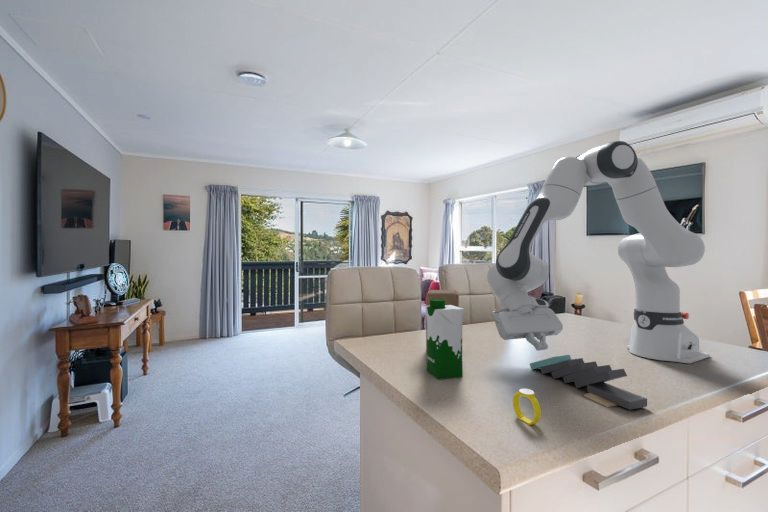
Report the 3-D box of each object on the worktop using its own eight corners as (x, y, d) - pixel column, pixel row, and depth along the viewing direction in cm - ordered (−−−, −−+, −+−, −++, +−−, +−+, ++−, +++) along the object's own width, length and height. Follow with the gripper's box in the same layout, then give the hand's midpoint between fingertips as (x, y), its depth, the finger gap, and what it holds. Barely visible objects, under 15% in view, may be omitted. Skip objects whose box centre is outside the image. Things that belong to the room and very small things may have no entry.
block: (458, 358, 110) (458, 293, 110) (425, 356, 112) (425, 292, 112) (458, 349, 119) (458, 290, 119) (428, 348, 121) (428, 289, 121)
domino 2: (540, 367, 96) (567, 360, 88) (554, 365, 98) (582, 358, 90) (542, 374, 96) (569, 366, 87) (556, 371, 97) (585, 364, 89)
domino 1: (529, 363, 100) (554, 356, 91) (543, 361, 102) (569, 354, 93) (531, 369, 99) (557, 363, 91) (545, 367, 101) (572, 361, 93)
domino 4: (562, 376, 89) (593, 367, 81) (577, 374, 91) (609, 364, 83) (565, 383, 88) (596, 374, 80) (580, 381, 90) (612, 371, 82)
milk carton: (422, 370, 99) (422, 298, 98) (452, 367, 101) (452, 296, 101) (436, 381, 90) (436, 302, 90) (468, 377, 93) (468, 300, 93)
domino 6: (587, 384, 82) (629, 401, 73) (603, 382, 84) (647, 398, 74) (587, 391, 82) (629, 409, 73) (603, 389, 84) (647, 406, 74)
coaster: (613, 391, 83) (613, 389, 83) (638, 401, 78) (638, 399, 78) (583, 396, 81) (583, 394, 81) (608, 407, 75) (608, 404, 75)
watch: (543, 428, 67) (545, 397, 66) (531, 431, 66) (533, 399, 65) (520, 412, 72) (521, 384, 72) (509, 414, 71) (510, 386, 71)
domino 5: (573, 380, 86) (607, 370, 78) (589, 378, 87) (623, 368, 79) (576, 387, 85) (610, 378, 77) (592, 385, 87) (627, 376, 78)
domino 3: (551, 372, 93) (579, 363, 84) (566, 370, 94) (595, 361, 86) (553, 378, 92) (582, 370, 84) (568, 376, 94) (598, 368, 85)
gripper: (494, 303, 102) (517, 346, 93) (551, 300, 109) (577, 340, 100) (484, 316, 106) (506, 358, 97) (540, 312, 113) (564, 351, 104)
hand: (542, 349), depth 98 cm, fingers closed
